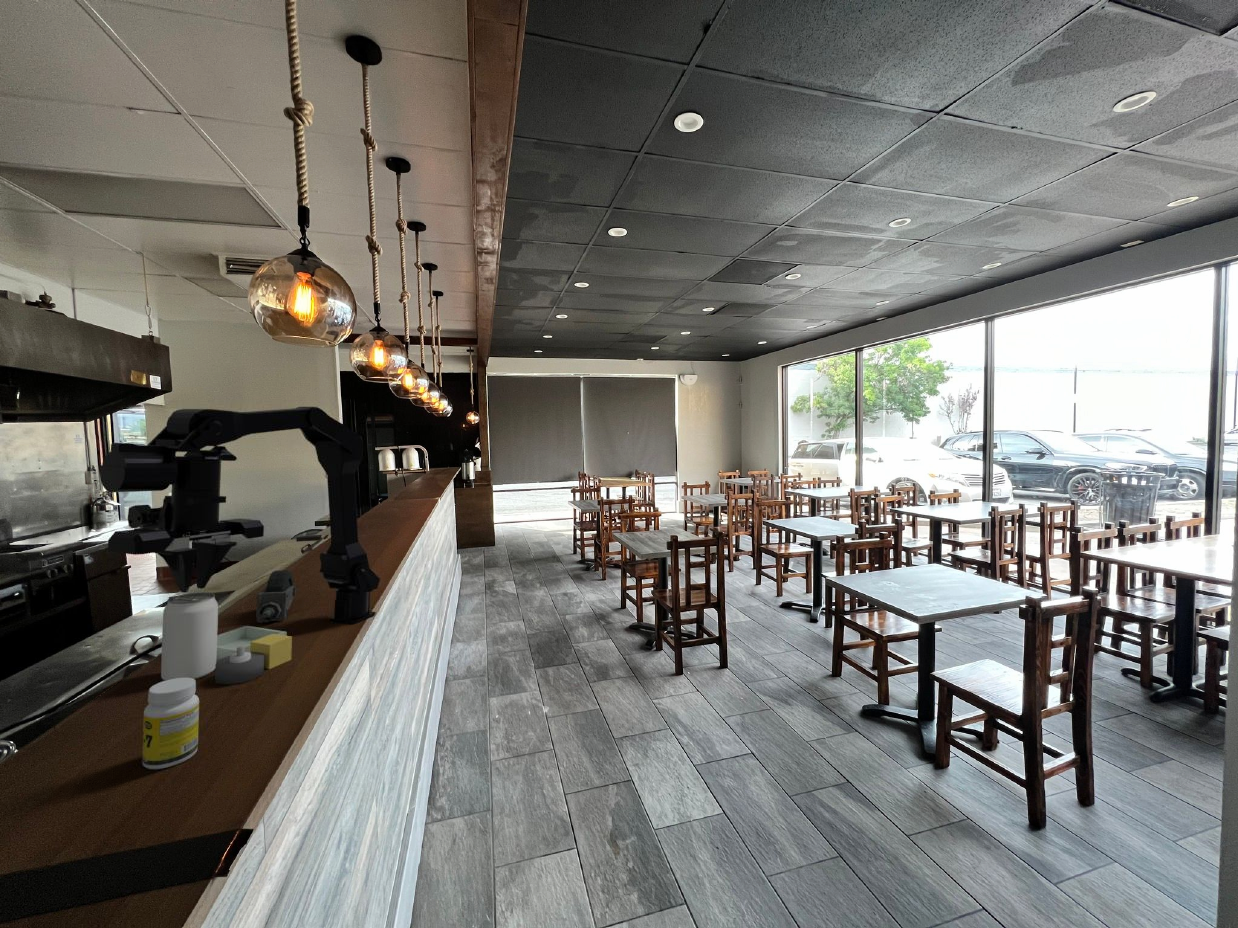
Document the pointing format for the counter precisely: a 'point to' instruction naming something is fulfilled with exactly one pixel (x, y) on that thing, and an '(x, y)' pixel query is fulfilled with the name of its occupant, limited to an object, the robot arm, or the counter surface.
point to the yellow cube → (273, 649)
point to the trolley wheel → (239, 667)
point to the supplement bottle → (170, 723)
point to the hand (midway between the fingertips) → (192, 589)
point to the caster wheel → (276, 597)
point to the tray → (241, 639)
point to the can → (189, 636)
